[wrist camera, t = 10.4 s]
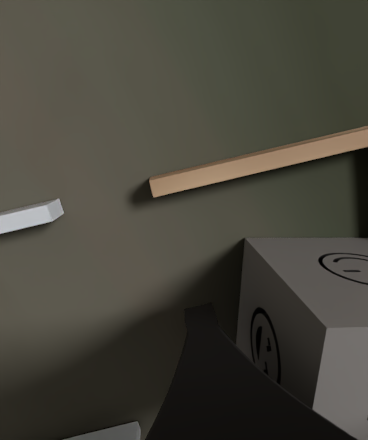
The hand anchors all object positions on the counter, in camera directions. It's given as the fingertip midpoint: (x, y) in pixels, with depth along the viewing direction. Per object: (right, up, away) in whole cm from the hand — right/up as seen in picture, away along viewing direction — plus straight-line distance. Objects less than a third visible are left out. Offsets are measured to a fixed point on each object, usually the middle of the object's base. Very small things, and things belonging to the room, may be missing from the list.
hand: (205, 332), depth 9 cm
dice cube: (+4, +1, +2) cm, 4 cm away
